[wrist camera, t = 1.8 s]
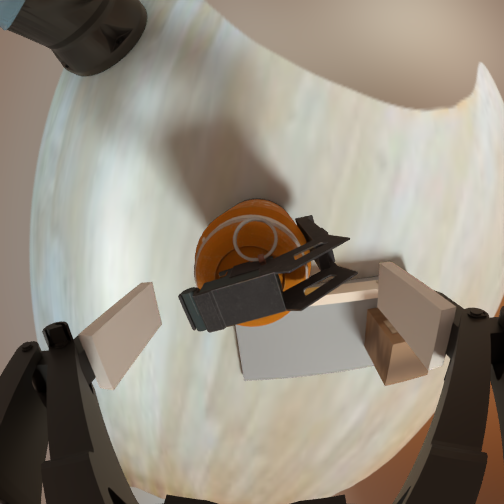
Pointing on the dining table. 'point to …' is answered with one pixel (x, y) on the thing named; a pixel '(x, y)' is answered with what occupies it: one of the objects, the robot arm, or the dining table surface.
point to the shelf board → (312, 336)
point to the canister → (259, 267)
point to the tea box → (390, 350)
